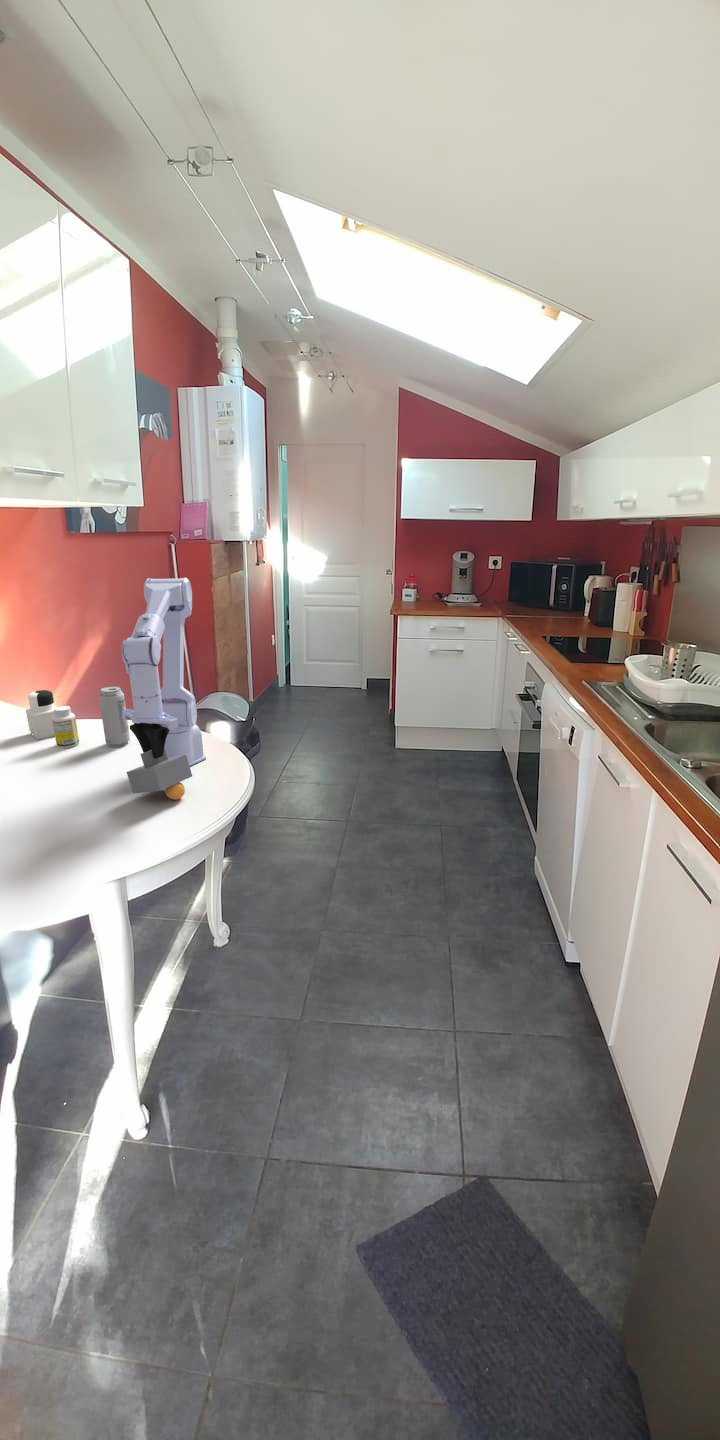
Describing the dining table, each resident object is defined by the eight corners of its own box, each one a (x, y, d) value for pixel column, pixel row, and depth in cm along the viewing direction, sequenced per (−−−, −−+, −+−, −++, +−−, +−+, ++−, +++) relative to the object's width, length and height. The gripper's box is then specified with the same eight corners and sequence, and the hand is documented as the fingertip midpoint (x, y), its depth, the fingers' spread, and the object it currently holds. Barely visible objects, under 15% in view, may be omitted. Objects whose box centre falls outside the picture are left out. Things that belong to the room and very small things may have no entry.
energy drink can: (111, 740, 180) (103, 685, 175) (133, 739, 180) (126, 685, 175) (102, 748, 174) (94, 692, 169) (125, 747, 174) (118, 692, 169)
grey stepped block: (165, 779, 151) (154, 746, 150) (192, 776, 146) (181, 741, 145) (133, 793, 143) (122, 758, 142) (161, 790, 138) (149, 754, 137)
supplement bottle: (68, 740, 180) (62, 703, 177) (84, 743, 178) (78, 706, 174) (51, 747, 175) (45, 709, 172) (67, 750, 173) (61, 712, 170)
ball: (179, 774, 145) (191, 788, 144) (172, 786, 147) (183, 799, 146) (166, 780, 141) (178, 794, 140) (158, 792, 143) (170, 806, 142)
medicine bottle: (56, 727, 190) (49, 686, 186) (64, 734, 185) (57, 692, 181) (29, 733, 186) (22, 691, 182) (37, 740, 181) (29, 697, 177)
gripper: (107, 694, 140) (115, 755, 144) (156, 704, 133) (164, 768, 137) (133, 686, 146) (141, 745, 150) (182, 695, 138) (189, 756, 143)
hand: (154, 755), depth 144 cm, fingers closed on grey stepped block, 2 cm apart
